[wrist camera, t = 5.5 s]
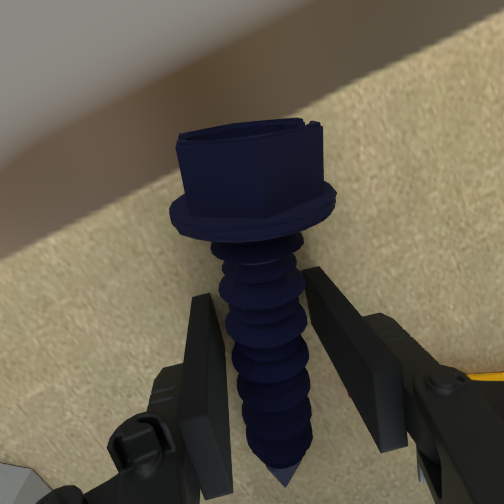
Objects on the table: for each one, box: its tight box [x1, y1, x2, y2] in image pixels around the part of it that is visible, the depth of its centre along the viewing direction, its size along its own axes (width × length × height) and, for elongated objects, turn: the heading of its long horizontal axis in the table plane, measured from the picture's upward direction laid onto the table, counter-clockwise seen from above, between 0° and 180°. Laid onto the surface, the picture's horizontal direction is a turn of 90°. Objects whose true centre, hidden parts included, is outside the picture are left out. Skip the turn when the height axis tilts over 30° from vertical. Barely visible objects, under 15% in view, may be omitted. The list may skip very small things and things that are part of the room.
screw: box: [169, 118, 337, 488], centre depth 13 cm, size 18×5×5 cm, turn 7°
